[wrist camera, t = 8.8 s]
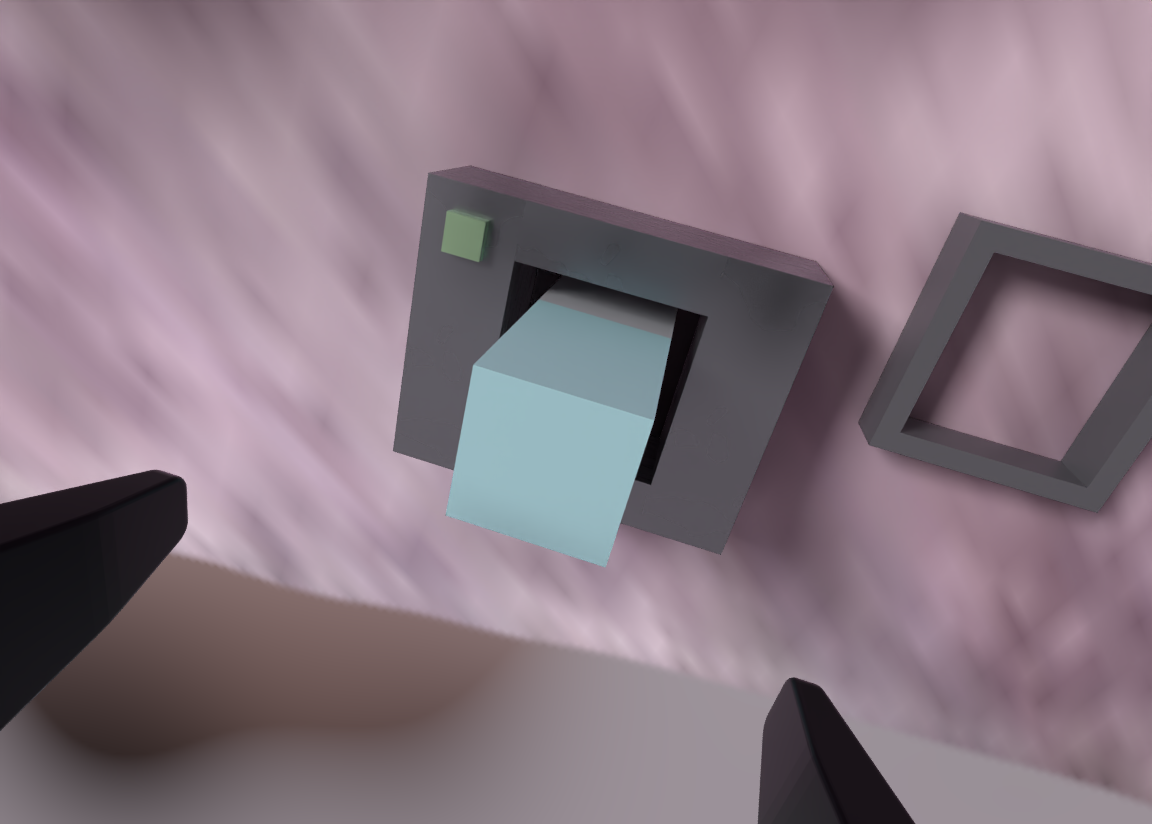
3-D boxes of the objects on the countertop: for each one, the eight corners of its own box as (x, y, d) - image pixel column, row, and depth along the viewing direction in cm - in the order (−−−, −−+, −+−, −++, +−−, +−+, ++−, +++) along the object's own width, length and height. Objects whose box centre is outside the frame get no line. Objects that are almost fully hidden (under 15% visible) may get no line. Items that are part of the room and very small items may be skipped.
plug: (677, 308, 19) (654, 420, 12) (644, 412, 21) (605, 567, 13) (563, 274, 19) (473, 364, 12) (539, 380, 21) (445, 515, 14)
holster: (1210, 279, 16) (1255, 293, 15) (1070, 485, 19) (1097, 512, 18) (960, 212, 17) (981, 220, 15) (858, 422, 19) (868, 445, 18)
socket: (816, 261, 18) (835, 289, 15) (720, 500, 21) (721, 561, 18) (470, 165, 19) (423, 173, 16) (432, 411, 22) (388, 455, 19)
